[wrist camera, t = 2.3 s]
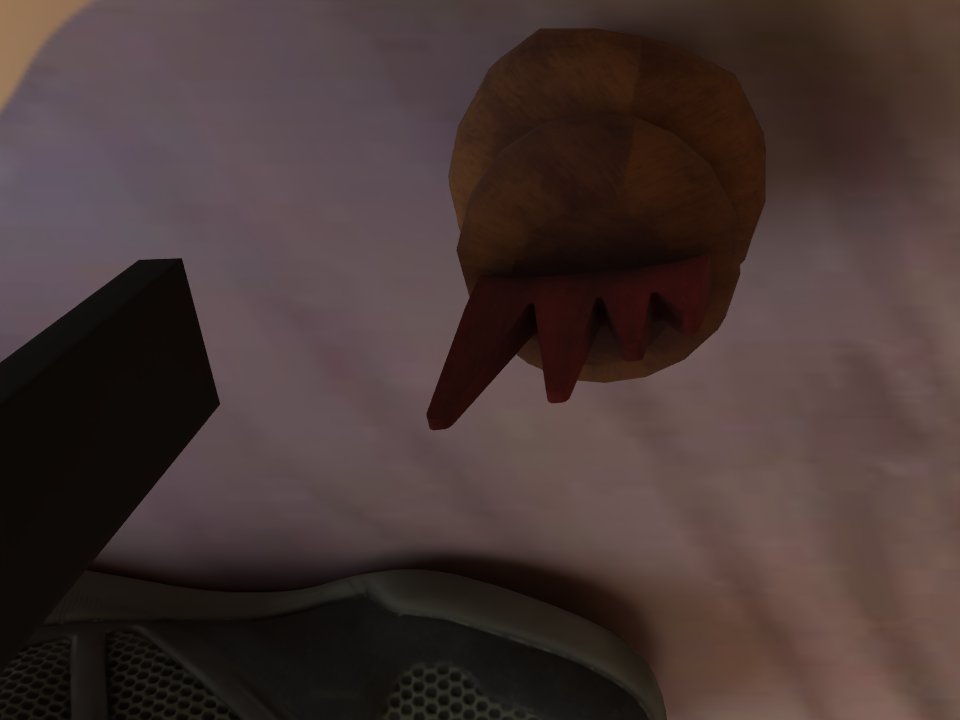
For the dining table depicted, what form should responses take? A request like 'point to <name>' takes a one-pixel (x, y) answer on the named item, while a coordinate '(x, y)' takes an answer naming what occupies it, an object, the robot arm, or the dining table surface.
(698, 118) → the wooden figurine
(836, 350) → the dining table surface
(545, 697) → the sneaker
